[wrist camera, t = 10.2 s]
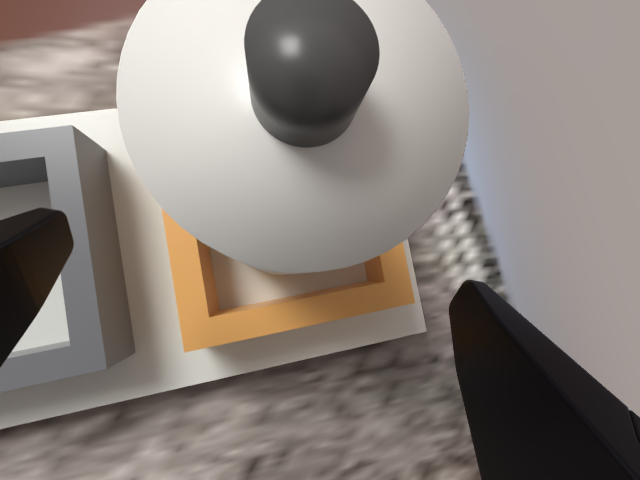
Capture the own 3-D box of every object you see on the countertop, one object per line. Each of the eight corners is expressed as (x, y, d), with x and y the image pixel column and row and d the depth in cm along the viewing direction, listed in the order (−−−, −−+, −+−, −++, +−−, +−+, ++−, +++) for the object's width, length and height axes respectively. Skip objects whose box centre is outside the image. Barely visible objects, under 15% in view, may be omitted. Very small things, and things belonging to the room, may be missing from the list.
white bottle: (315, 287, 15) (463, 329, 4) (213, 256, 15) (-14, 180, 3) (345, 190, 16) (555, -53, 4) (247, 157, 16) (169, -224, 4)
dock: (417, 328, 17) (455, 341, 13) (-113, 448, 14) (-245, 507, 10) (368, 90, 18) (392, 46, 14) (-142, 149, 14) (-273, 110, 11)
